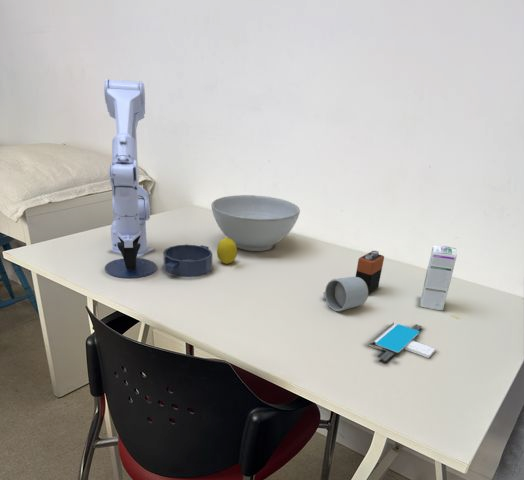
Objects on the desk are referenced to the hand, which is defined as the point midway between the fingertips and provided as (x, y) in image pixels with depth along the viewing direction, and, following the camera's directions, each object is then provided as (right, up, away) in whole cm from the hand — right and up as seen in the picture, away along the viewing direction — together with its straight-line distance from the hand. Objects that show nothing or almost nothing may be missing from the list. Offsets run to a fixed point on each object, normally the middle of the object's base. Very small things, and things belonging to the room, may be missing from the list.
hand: (130, 265), depth 131 cm
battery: (+62, -7, 0) cm, 62 cm away
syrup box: (+78, -11, -5) cm, 78 cm away
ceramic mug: (+54, -12, -9) cm, 56 cm away
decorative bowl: (+32, +11, +25) cm, 42 cm away
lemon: (+25, +1, +9) cm, 26 cm away
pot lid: (0, -1, 0) cm, 1 cm away
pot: (+15, -1, +4) cm, 15 cm away
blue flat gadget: (+65, -22, -25) cm, 73 cm away
